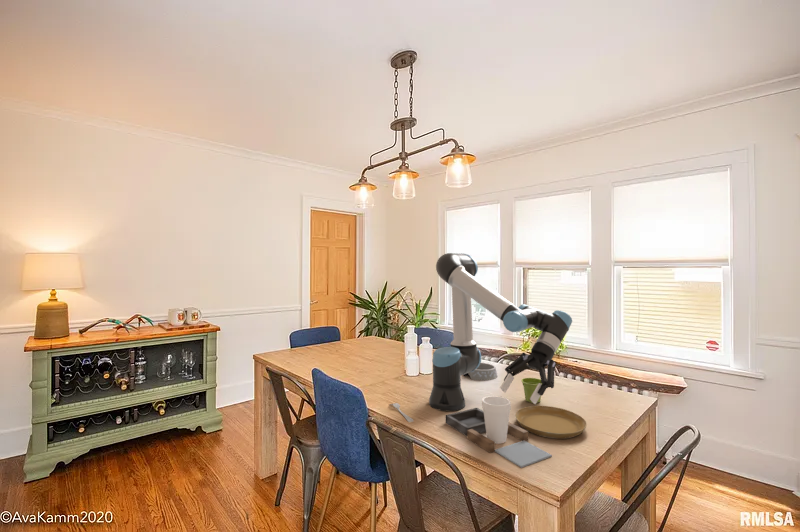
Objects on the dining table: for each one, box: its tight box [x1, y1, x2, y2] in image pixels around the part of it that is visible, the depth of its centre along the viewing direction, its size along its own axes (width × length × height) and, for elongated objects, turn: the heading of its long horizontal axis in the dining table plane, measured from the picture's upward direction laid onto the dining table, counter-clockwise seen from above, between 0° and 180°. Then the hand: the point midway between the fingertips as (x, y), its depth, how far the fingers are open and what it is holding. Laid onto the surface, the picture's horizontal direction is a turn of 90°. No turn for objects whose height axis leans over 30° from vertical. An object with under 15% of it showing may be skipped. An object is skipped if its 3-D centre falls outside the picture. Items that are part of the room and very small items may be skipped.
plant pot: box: [521, 377, 542, 404], centre depth 160 cm, size 9×9×9 cm
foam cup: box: [481, 395, 512, 444], centre depth 124 cm, size 10×9×13 cm
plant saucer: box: [514, 405, 588, 440], centre depth 134 cm, size 24×24×3 cm
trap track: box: [445, 407, 529, 454], centre depth 130 cm, size 25×17×3 cm
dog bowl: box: [467, 362, 498, 381], centre depth 198 cm, size 17×18×5 cm
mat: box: [494, 440, 553, 468], centre depth 114 cm, size 11×13×1 cm
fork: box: [389, 402, 415, 423], centre depth 148 cm, size 3×21×3 cm, turn 24°
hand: (516, 395), depth 128 cm, fingers open, 13 cm apart
